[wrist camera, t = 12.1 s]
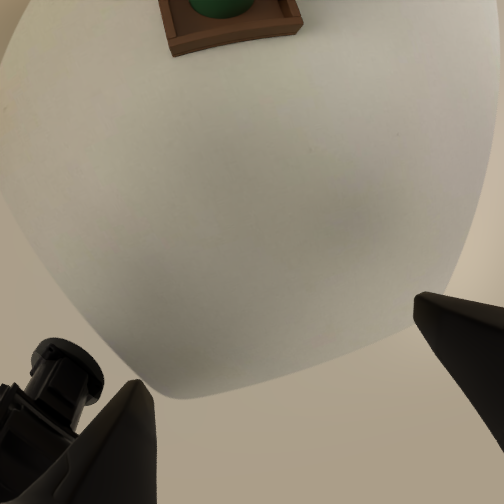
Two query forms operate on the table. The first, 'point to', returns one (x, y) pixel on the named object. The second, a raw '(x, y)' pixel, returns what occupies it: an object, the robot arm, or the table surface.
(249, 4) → the green bottle
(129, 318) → the table surface
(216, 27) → the tray
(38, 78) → the table surface
